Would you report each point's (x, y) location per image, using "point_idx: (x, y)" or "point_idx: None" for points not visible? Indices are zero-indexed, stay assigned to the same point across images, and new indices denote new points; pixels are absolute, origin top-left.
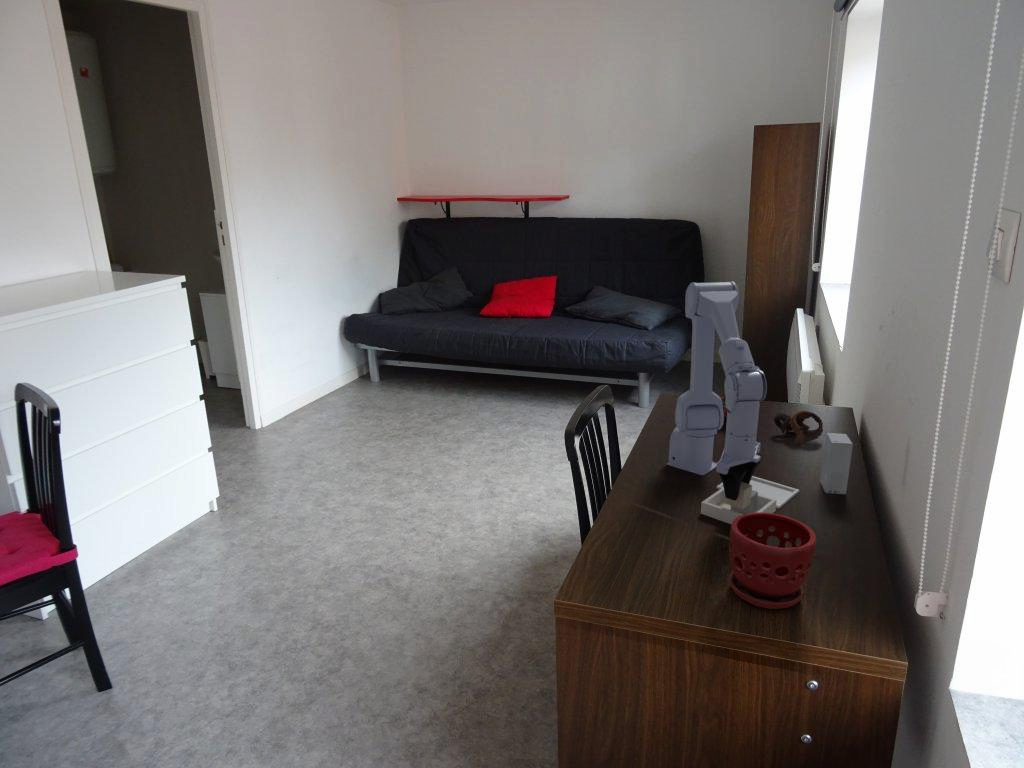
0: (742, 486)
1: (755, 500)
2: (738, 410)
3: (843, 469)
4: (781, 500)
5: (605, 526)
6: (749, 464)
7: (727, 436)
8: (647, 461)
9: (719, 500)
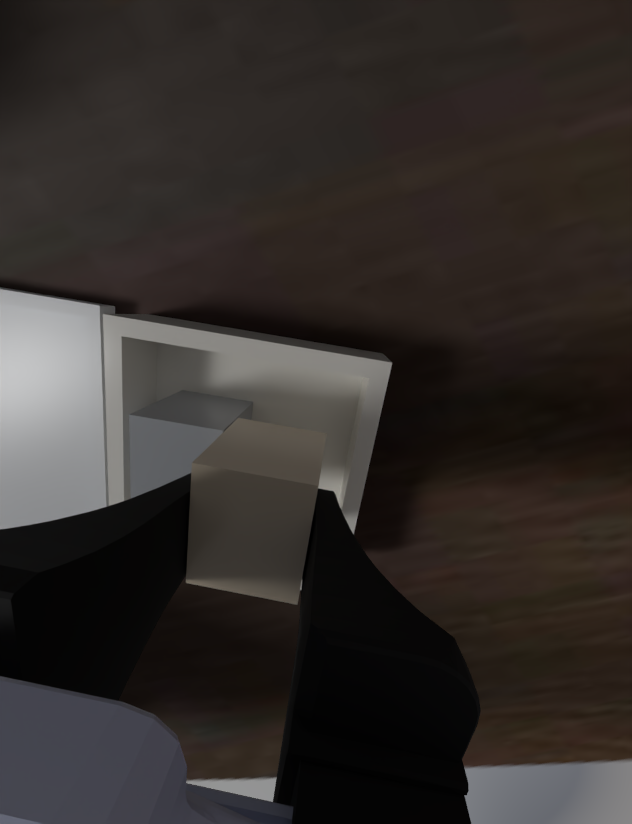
0: (255, 512)
1: (176, 406)
2: None
3: None
4: (30, 318)
5: (561, 753)
6: (61, 630)
7: None
8: None
9: None
